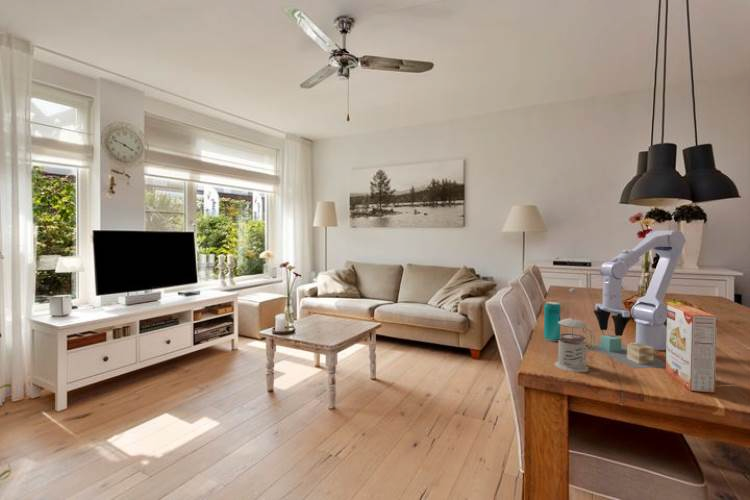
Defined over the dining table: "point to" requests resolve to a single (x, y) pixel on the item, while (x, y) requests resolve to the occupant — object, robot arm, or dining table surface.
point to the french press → (572, 346)
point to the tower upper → (640, 349)
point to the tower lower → (640, 358)
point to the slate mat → (622, 358)
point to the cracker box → (691, 347)
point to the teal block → (611, 343)
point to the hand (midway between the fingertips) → (610, 332)
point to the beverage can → (552, 321)
